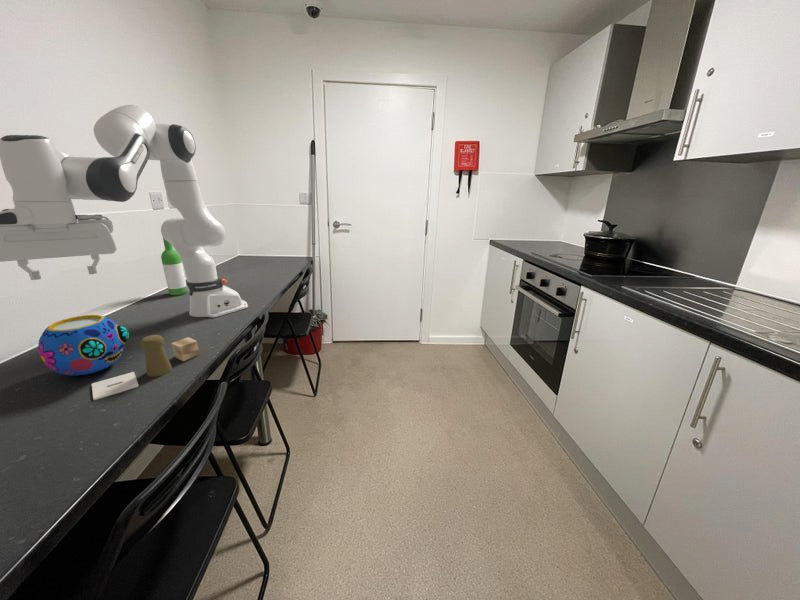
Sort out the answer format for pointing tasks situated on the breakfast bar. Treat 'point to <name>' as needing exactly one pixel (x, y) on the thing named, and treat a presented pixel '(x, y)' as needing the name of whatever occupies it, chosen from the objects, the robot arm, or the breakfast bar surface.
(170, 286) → the wine bottle
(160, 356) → the cork
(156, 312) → the breakfast bar surface
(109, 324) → the ceramic pot
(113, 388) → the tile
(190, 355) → the oak cube
